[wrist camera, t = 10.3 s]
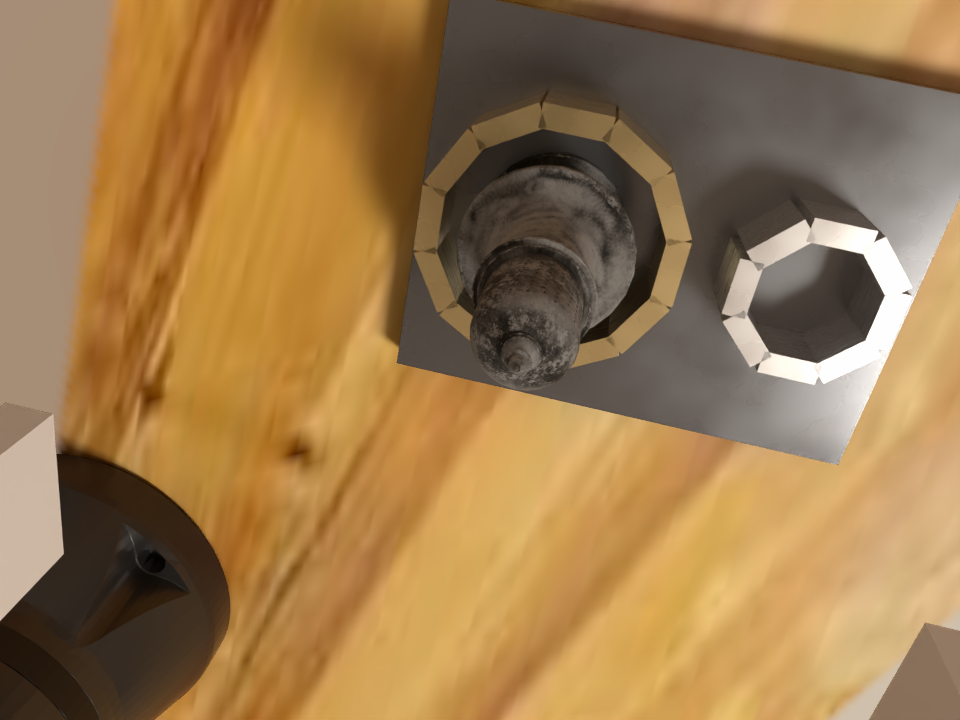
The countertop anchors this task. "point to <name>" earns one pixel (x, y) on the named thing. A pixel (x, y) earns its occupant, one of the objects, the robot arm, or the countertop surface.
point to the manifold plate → (697, 216)
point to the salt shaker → (542, 266)
